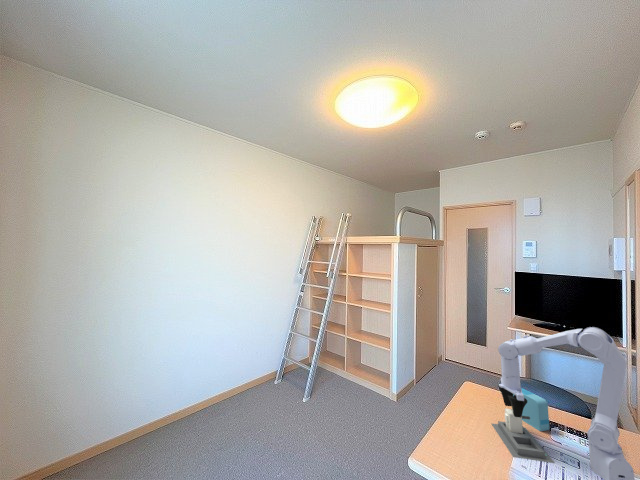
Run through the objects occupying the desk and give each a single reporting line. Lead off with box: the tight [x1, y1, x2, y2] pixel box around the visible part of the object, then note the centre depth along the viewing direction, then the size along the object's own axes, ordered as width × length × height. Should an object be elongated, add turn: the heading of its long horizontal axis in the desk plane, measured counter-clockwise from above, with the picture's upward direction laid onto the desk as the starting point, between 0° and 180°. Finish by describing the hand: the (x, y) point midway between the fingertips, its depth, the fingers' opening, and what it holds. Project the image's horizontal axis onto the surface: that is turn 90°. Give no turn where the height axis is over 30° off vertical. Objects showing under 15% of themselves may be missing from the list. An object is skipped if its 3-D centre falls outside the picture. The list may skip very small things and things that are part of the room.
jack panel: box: [491, 421, 556, 464], centre depth 96 cm, size 19×12×3 cm, turn 166°
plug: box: [504, 408, 530, 434], centre depth 100 cm, size 4×8×8 cm, turn 76°
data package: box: [513, 387, 550, 432], centre depth 108 cm, size 12×4×12 cm, turn 11°
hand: (512, 411), depth 101 cm, fingers open, 7 cm apart
